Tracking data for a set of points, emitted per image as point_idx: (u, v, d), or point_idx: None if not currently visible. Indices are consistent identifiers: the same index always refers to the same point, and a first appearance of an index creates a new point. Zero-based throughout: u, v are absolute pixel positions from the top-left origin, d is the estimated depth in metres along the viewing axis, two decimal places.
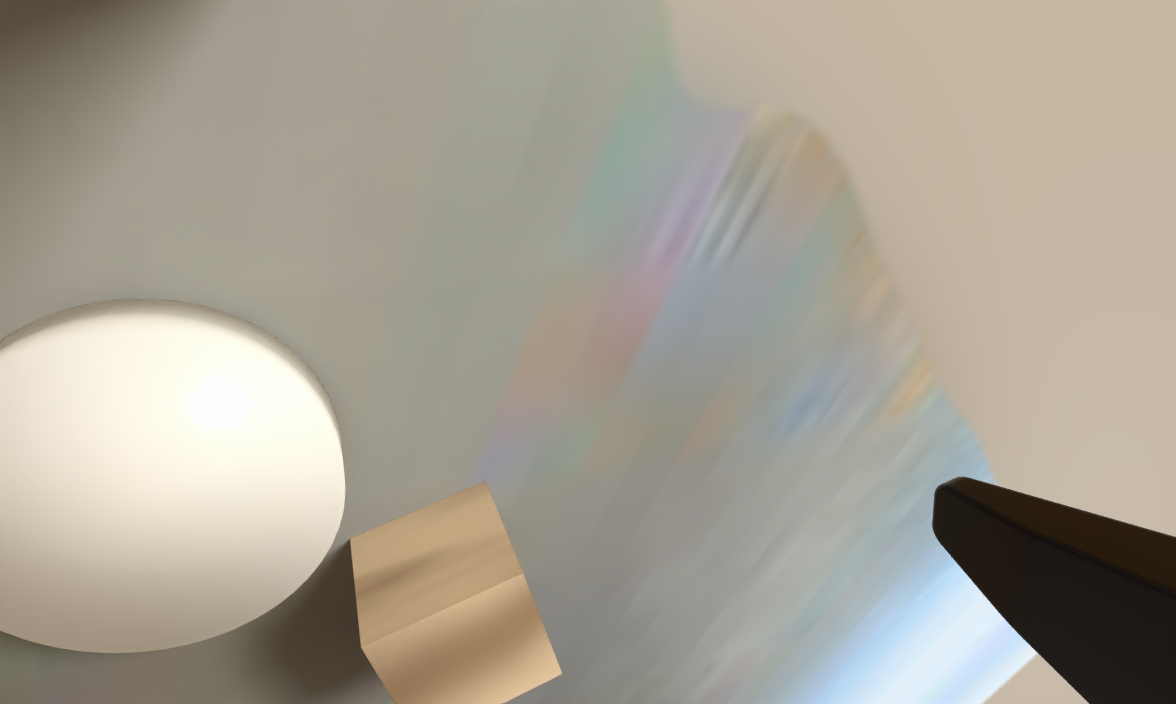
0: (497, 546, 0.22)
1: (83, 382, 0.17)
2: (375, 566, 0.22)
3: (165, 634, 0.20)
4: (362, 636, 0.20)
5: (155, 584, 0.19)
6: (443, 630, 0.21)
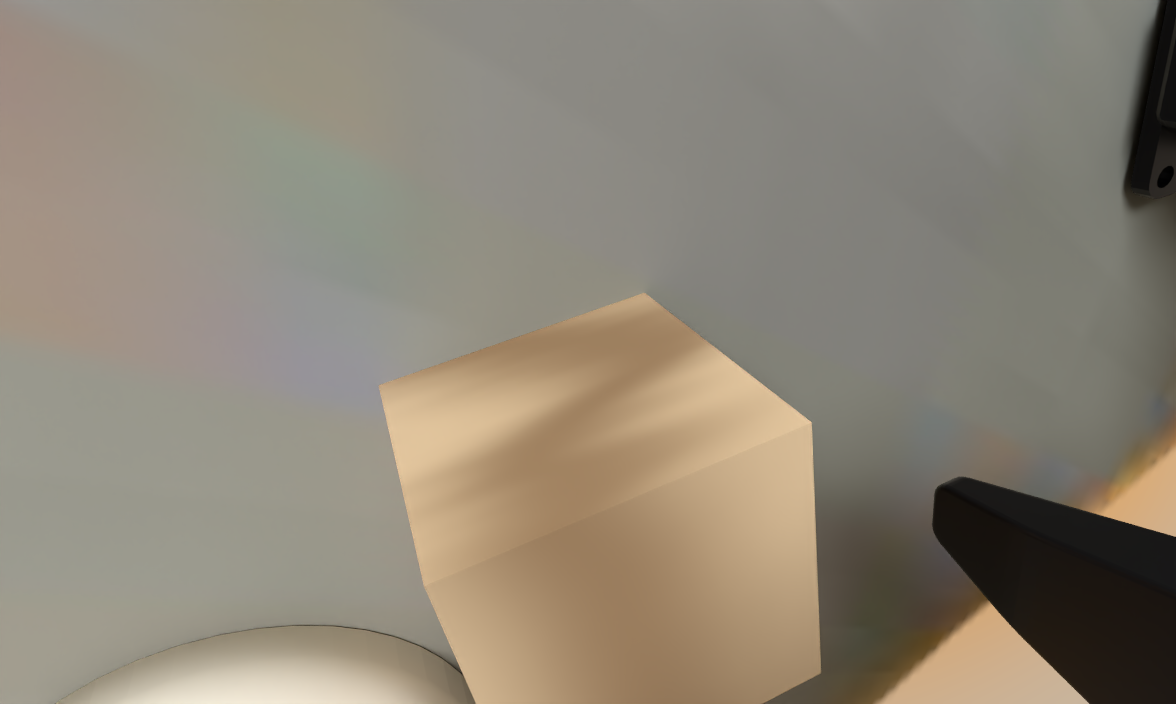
0: None
1: None
2: None
3: None
4: None
5: None
6: None
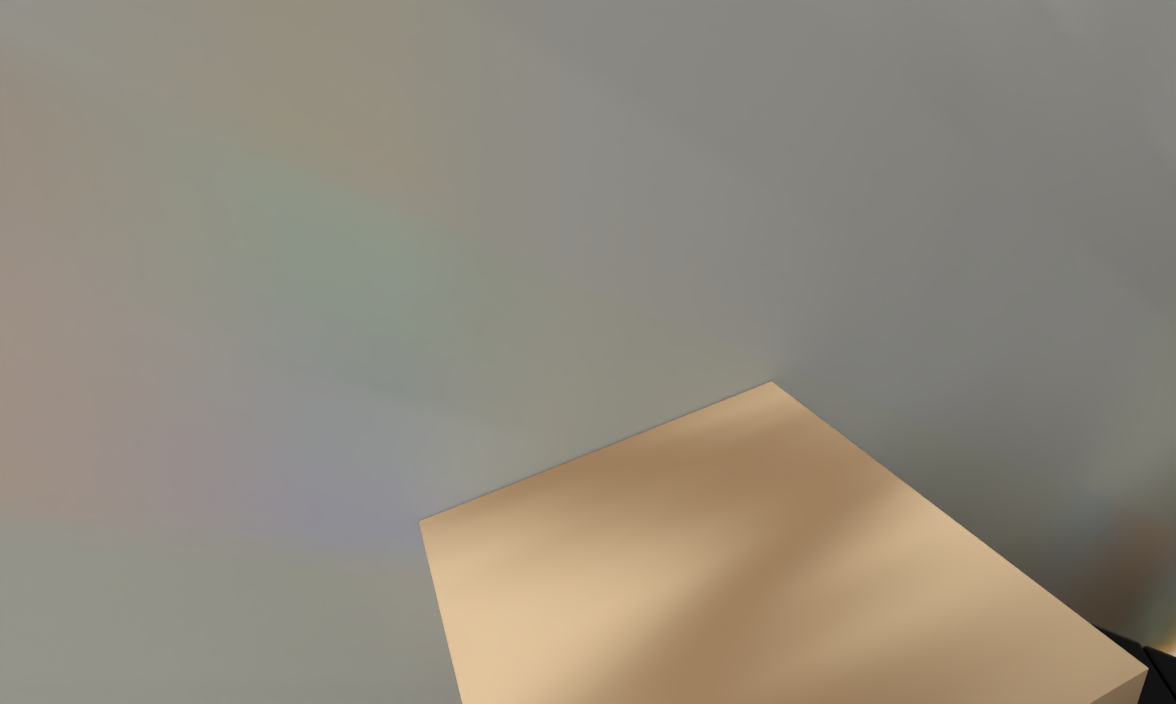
0: None
1: None
2: None
3: None
4: None
5: None
6: None
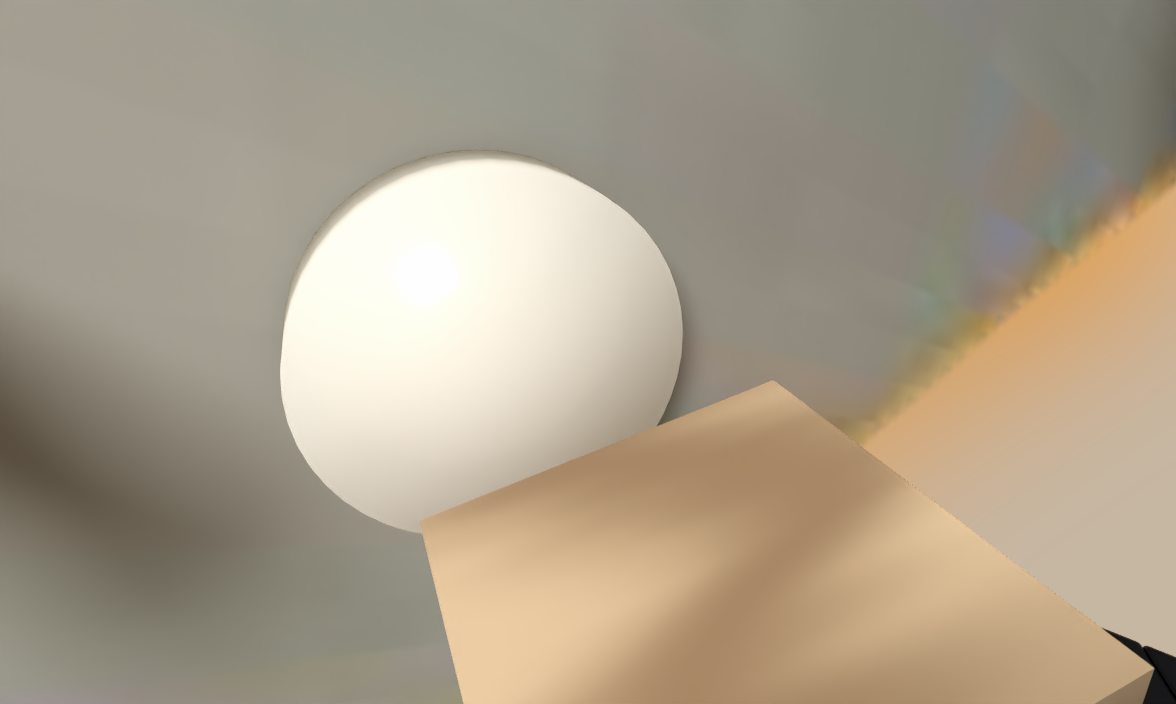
0: None
1: (338, 410, 0.16)
2: None
3: (660, 371, 0.19)
4: None
5: (596, 374, 0.18)
6: None
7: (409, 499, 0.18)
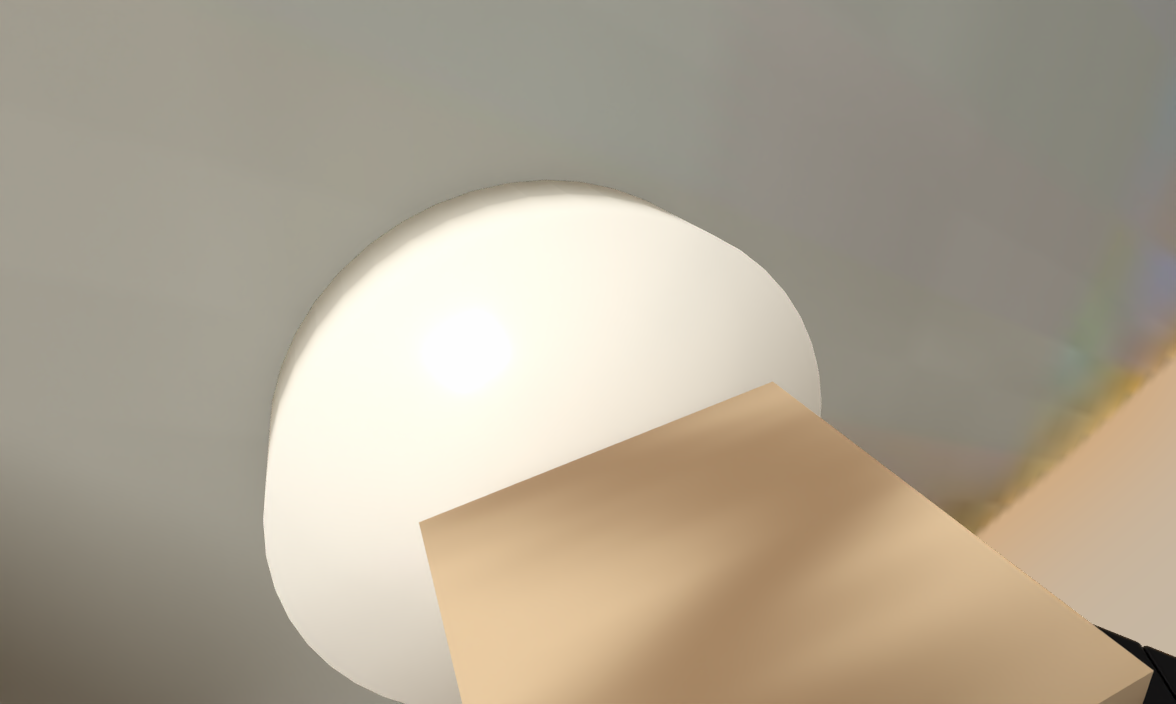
0: None
1: (349, 565, 0.11)
2: None
3: None
4: None
5: None
6: None
7: (447, 671, 0.13)
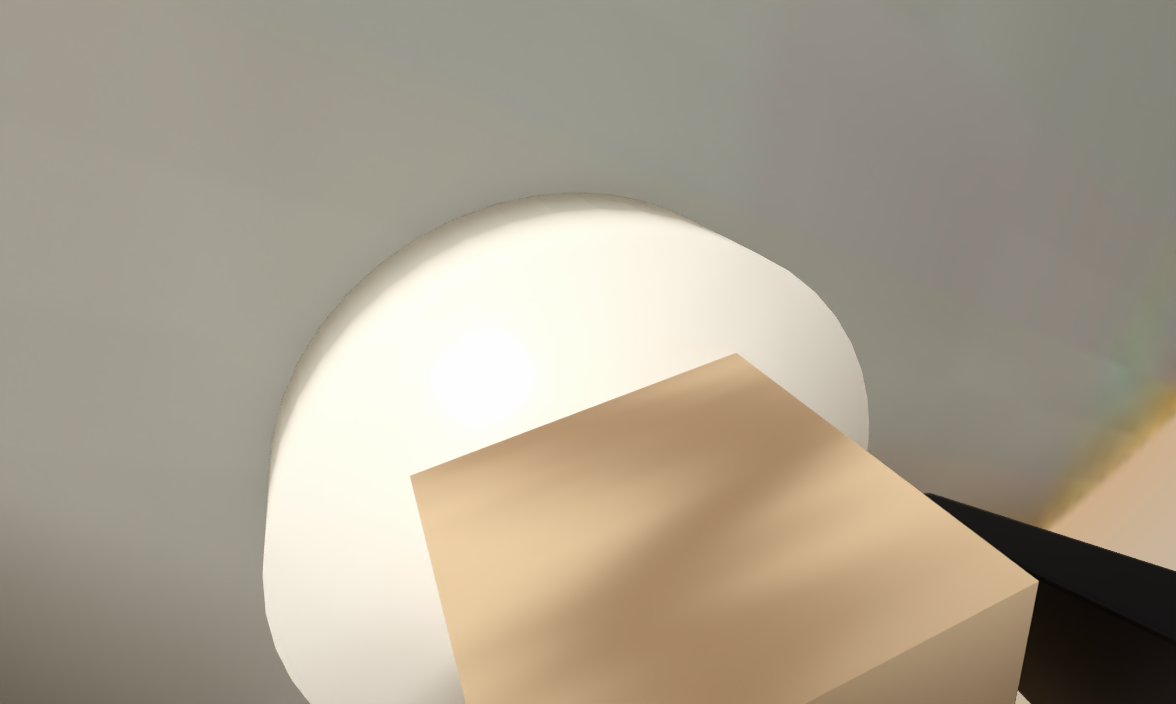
0: None
1: (358, 620, 0.10)
2: None
3: None
4: None
5: None
6: None
7: None
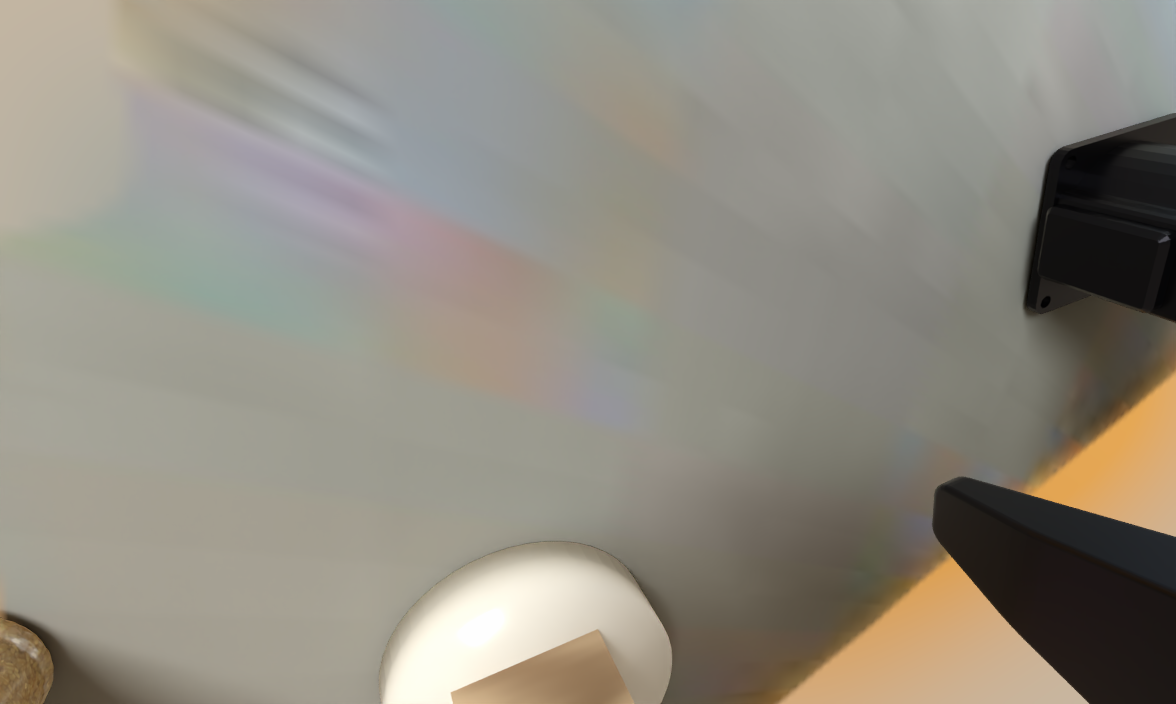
0: None
1: None
2: None
3: (655, 687, 0.25)
4: None
5: None
6: None
7: None
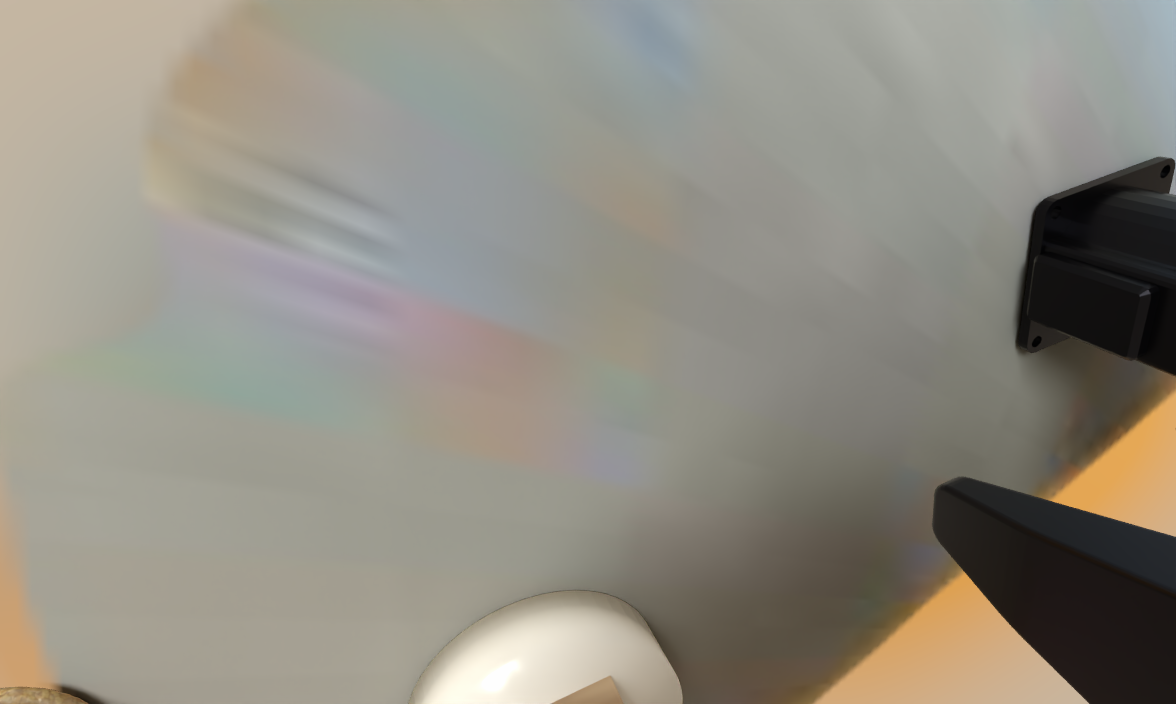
0: None
1: None
2: None
3: None
4: None
5: None
6: None
7: None
